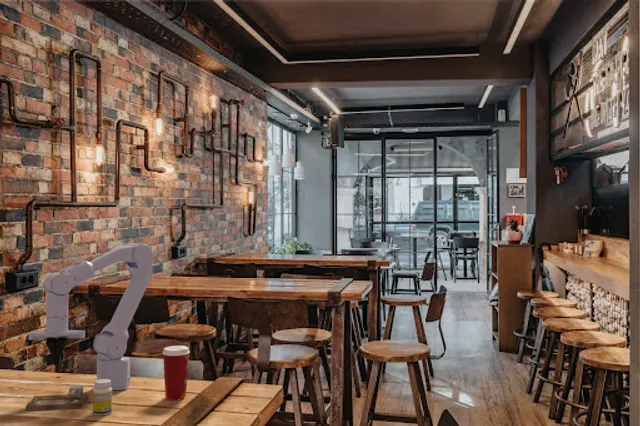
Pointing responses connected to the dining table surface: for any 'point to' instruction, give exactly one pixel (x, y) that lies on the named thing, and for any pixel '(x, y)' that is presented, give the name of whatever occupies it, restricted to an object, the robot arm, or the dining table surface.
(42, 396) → the wooden mechanism board
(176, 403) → the dining table surface
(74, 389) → the sliding leg
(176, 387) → the paper cup
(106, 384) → the supplement bottle
